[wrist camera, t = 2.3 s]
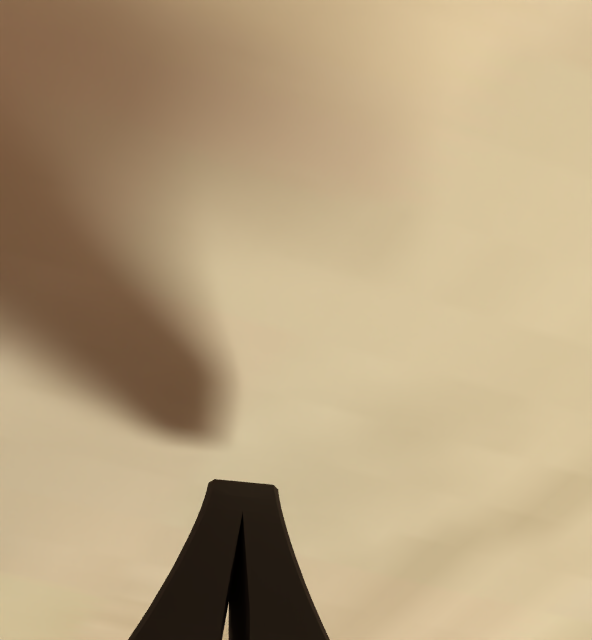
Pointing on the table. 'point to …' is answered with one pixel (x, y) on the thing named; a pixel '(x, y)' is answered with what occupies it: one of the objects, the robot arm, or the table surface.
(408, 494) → the table surface
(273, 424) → the table surface
